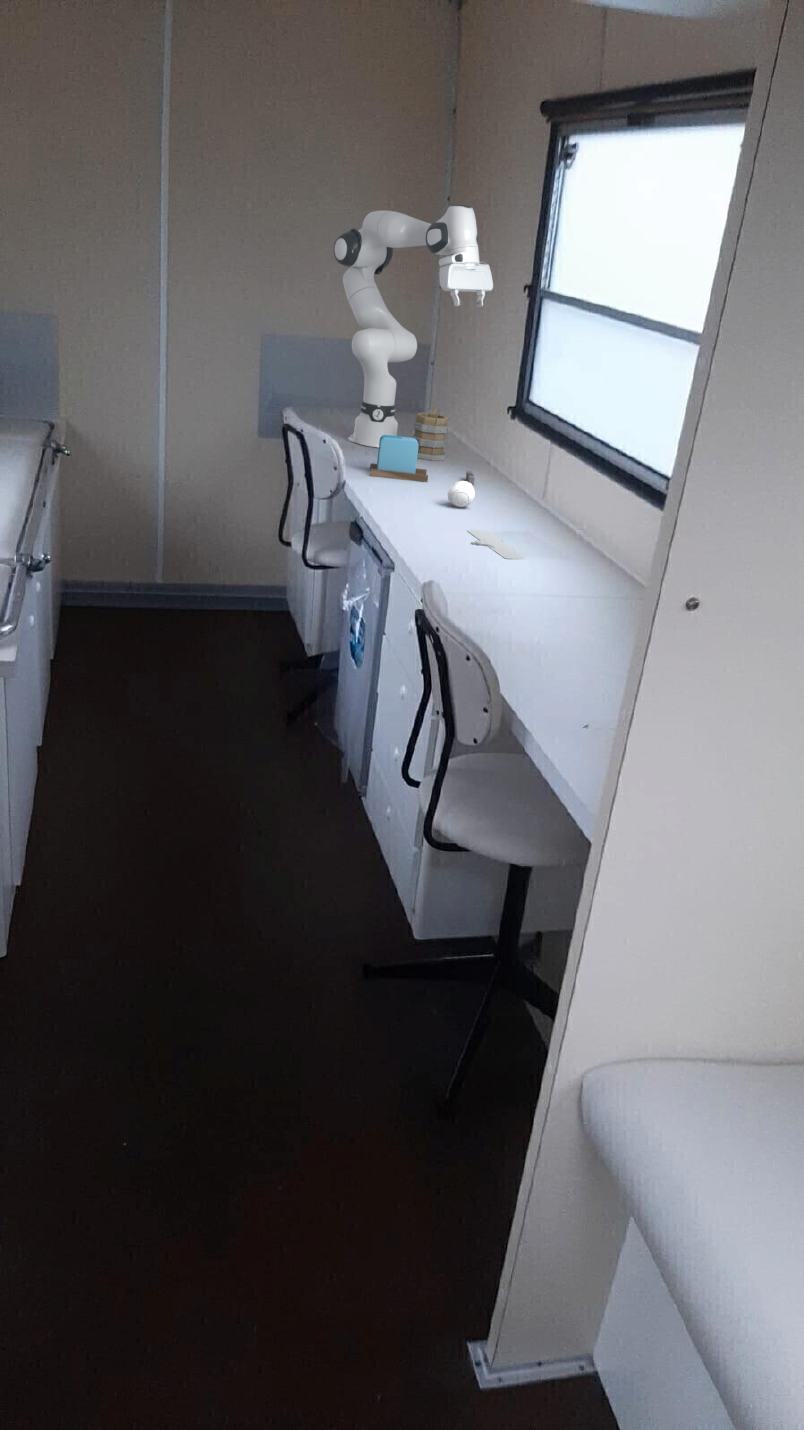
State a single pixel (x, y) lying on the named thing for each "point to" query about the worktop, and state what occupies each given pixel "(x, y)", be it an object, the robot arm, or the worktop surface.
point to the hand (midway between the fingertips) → (468, 306)
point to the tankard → (431, 435)
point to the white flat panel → (494, 544)
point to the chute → (410, 474)
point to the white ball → (461, 494)
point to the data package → (397, 454)
